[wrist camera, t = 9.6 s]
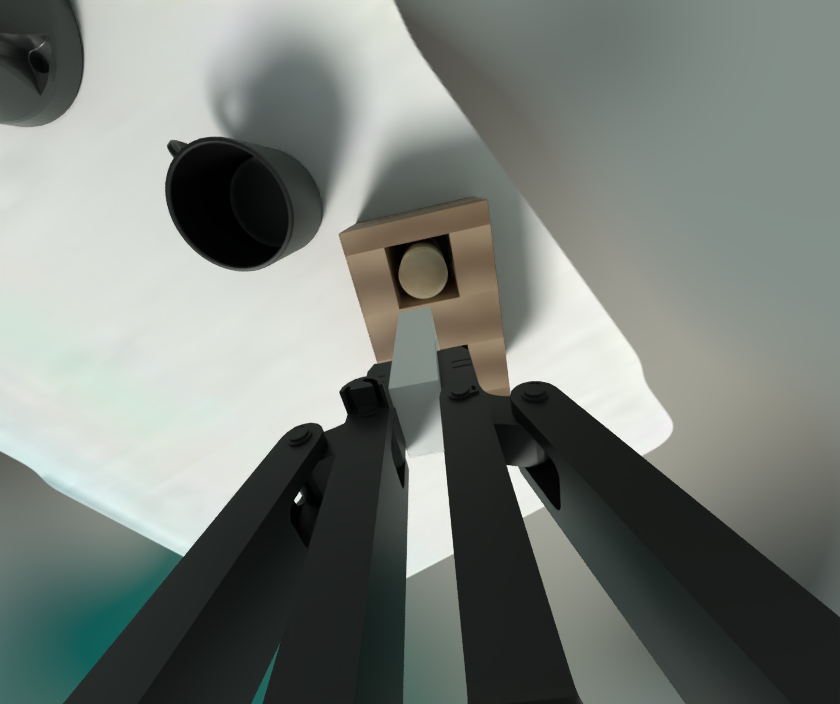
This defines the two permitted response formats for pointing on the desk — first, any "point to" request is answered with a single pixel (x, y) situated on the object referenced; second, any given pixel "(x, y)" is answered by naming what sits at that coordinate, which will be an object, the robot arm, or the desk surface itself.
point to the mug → (240, 202)
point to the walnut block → (455, 304)
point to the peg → (423, 269)
